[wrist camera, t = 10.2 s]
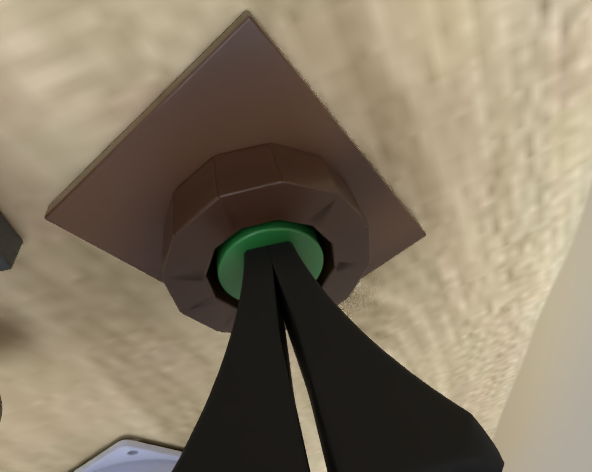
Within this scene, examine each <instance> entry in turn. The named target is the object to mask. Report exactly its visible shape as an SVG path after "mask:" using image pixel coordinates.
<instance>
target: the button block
mask: <svg viewBox="0 0 592 472" xmlns="http://www.w3.org/2000/svg"><path fill="white" fill-rule="evenodd" d="M45 219H46V220H48V221H50V222H52V223H54V224H56V225H57V226H59V227H61V228H63V229H65V230H67V231H69V232H70V233H72V234H74V235H76V236H78V237H80V238H81V239H83V240H85V241H87V242H89V243H91V244H93V245H94V246H96V247H98V248H100V249H102V250H104V251H106V252H107V253H109V254H111V255H113V256H115V257H117V258H119V259H120V260H122V261H124V262H126V263H128V264H130V265H132V266H133V267H135V268H137V269H139V270H141V271H143V272H144V273H146V274H148V275H150V276H152V277H154V278H156V279H157V280H159V281H161V282H163V283H164V284H165V286H166V287H167V289H168V291H169V293H170V295H171V296H172V298H173V300H174V302H175V304H176V305H177V307H178V309H179V311H180V312H182V313H183V314H184V315H186V316H188V317H190V318H192V319H194V320H196V321H198V322H200V323H202V324H204V325H206V326H208V327H210V328H212V329H214V330H216V331H220V332H228V333H231V332H232V328H233V325H234V321H235V317H236V313H237V308H238V303H239V300H237V299H236V298H234V297H232V296H231V295H229V294H228V293H227V292H226V291H225V290H224V288H223V287H222V286H221V284H220V282H219V279H218V273H217V262H216V252H215V248H217V247H218V246H219V245H221V244H222V243H223V242H224V241H226V240H227V239H228V238H229V237H231V236H232V235H233V234H234V233H236V232H237V231H238V230H240V229H242V228H246V227H250V226H254V225H258V224H262V223H266V222H270V221H274V220H283V221H289V222H294V223H300V224H306V225H311V226H313V227H314V229H315V232H316V235H317V237H318V240H319V242H320V245H321V248H322V250H323V255H324V262H323V267H322V270H321V273H320V275H319V277H318V278H317V280H316V281H317V282H318V283H319V285H320V286H321V287H322V288H323V290H324V291H325V292H326V293H327V295H328V296H329V297H330V298H331V299H332V300H333V301H334V303H335V304H336V305H338V304H340V303H341V302H343V301H344V300H346V299H347V297H349V296H350V294H351V293H352V291H353V290H354V288H355V287H356V285H357V284H358V282H359V281H360V279H361V278H363V277H364V276H366V275H367V274H369V273H370V272H372V271H373V270H375V269H376V268H378V267H379V266H381V265H382V264H384V263H385V262H387V261H388V260H390V259H391V258H393V257H394V256H396V255H397V254H399V253H400V252H402V251H403V250H405V249H406V248H408V247H409V246H411V245H412V244H414V243H415V242H417V241H418V240H420V239H421V238H423V237H424V236H425V235H426V233H425V232H424V230H423V229H422V227H421V226H420V224H419V223H418V222H417V221H416V220H415V218H414V217H413V216H412V215H411V213H410V212H409V211H408V210H407V208H406V207H405V206H404V205H403V203H402V202H401V201H400V200H399V198H398V197H397V196H396V195H395V193H394V192H393V191H392V190H391V188H390V187H389V186H388V185H387V183H386V182H385V181H384V180H383V178H382V177H381V176H380V175H379V173H378V172H377V171H376V170H375V168H374V167H373V166H372V165H371V163H370V162H369V161H368V160H367V158H366V157H365V156H364V155H363V153H362V152H361V151H360V150H359V148H358V147H357V146H356V145H355V143H354V142H353V141H352V140H351V138H350V137H349V136H348V135H347V133H346V132H345V131H344V130H343V128H342V127H341V126H340V125H339V123H338V122H337V121H336V120H335V118H334V117H333V116H332V115H331V113H330V112H329V111H328V110H327V108H326V107H325V106H324V105H323V103H322V102H321V101H320V100H319V98H318V97H317V96H316V95H315V93H314V92H313V91H312V90H311V88H310V87H309V86H308V85H307V83H306V82H305V81H304V80H303V78H302V77H301V76H300V75H299V73H298V72H297V71H296V70H295V68H294V67H293V66H292V65H291V63H290V62H289V61H288V60H287V58H286V57H285V56H284V55H283V53H282V52H281V51H280V50H279V48H278V47H277V46H276V45H275V43H274V42H273V41H272V40H271V38H270V37H269V36H268V35H267V33H266V32H265V31H264V30H263V28H262V27H261V26H260V25H259V23H258V22H257V21H256V20H255V18H254V17H253V16H252V15H251V13H250V12H249V11H245V12H244V13H243V14H242V15H241V16H240V17H239V18H238V19H237V20H236V21H235V22H234V23H233V24H232V25H231V26H230V27H229V28H228V29H227V30H226V31H225V32H224V33H223V34H222V35H221V36H220V37H219V38H218V39H217V40H216V41H215V42H214V43H213V44H212V45H211V46H210V47H209V48H208V49H207V50H206V51H205V52H204V53H203V54H202V55H201V56H200V57H199V58H198V59H197V60H195V61H194V62H193V63H192V64H191V65H190V66H189V67H188V68H187V69H186V70H185V71H184V72H183V73H182V74H181V75H180V76H179V77H178V78H177V79H176V80H175V81H174V82H173V83H172V84H171V85H170V86H169V87H168V88H167V89H166V90H165V91H164V92H163V93H162V94H161V95H160V96H159V97H158V98H157V99H156V100H155V101H154V102H153V103H152V104H151V105H150V106H149V107H148V108H147V109H146V110H145V111H144V112H143V113H142V114H141V115H140V116H139V117H138V118H137V119H136V120H135V121H134V122H133V123H132V124H131V125H130V126H129V127H128V128H127V129H126V130H125V131H124V132H123V133H122V134H121V135H120V136H119V137H118V138H117V139H116V140H115V141H114V142H113V143H112V144H111V145H110V146H109V147H108V148H107V149H106V150H105V151H104V152H103V153H102V154H101V155H100V156H99V157H98V158H97V159H96V160H95V161H94V162H93V163H92V164H91V165H90V166H89V167H88V168H87V169H86V170H85V171H84V172H83V173H82V174H81V175H80V176H79V177H78V178H77V179H76V180H75V181H74V182H73V183H72V184H71V185H70V186H69V187H68V188H67V189H66V190H65V191H64V192H62V193H61V194H60V195H59V196H58V197H57V198H56V199H55V200H54V201H53V202H52V203H51V204H50V205H49V207H48V209H47V212H46V214H45ZM284 324H285V322H284ZM286 329H287V328H286V325H285V330H286Z"/></svg>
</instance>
